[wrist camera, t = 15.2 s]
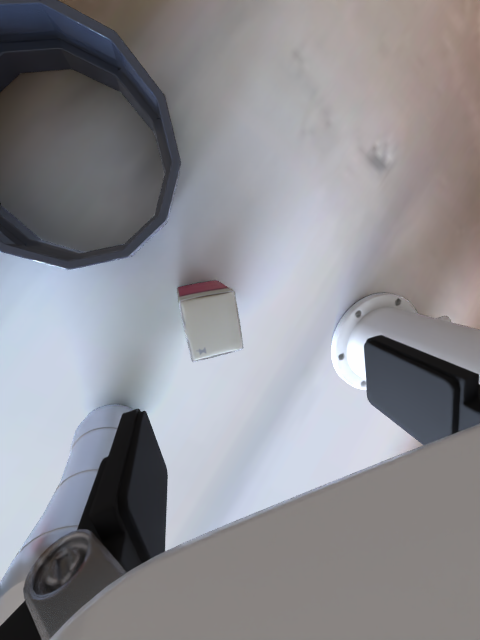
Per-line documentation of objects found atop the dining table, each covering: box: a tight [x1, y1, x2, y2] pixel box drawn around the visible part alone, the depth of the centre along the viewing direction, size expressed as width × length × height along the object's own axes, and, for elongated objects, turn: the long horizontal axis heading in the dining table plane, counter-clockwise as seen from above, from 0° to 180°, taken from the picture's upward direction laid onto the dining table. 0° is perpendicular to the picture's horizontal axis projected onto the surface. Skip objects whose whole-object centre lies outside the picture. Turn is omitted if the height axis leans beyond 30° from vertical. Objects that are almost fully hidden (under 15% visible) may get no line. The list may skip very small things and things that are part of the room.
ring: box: [0, 0, 181, 270], centre depth 19 cm, size 15×15×5 cm
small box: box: [177, 280, 243, 362], centre depth 24 cm, size 5×4×8 cm
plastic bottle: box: [0, 404, 133, 626], centre depth 19 cm, size 6×7×20 cm
